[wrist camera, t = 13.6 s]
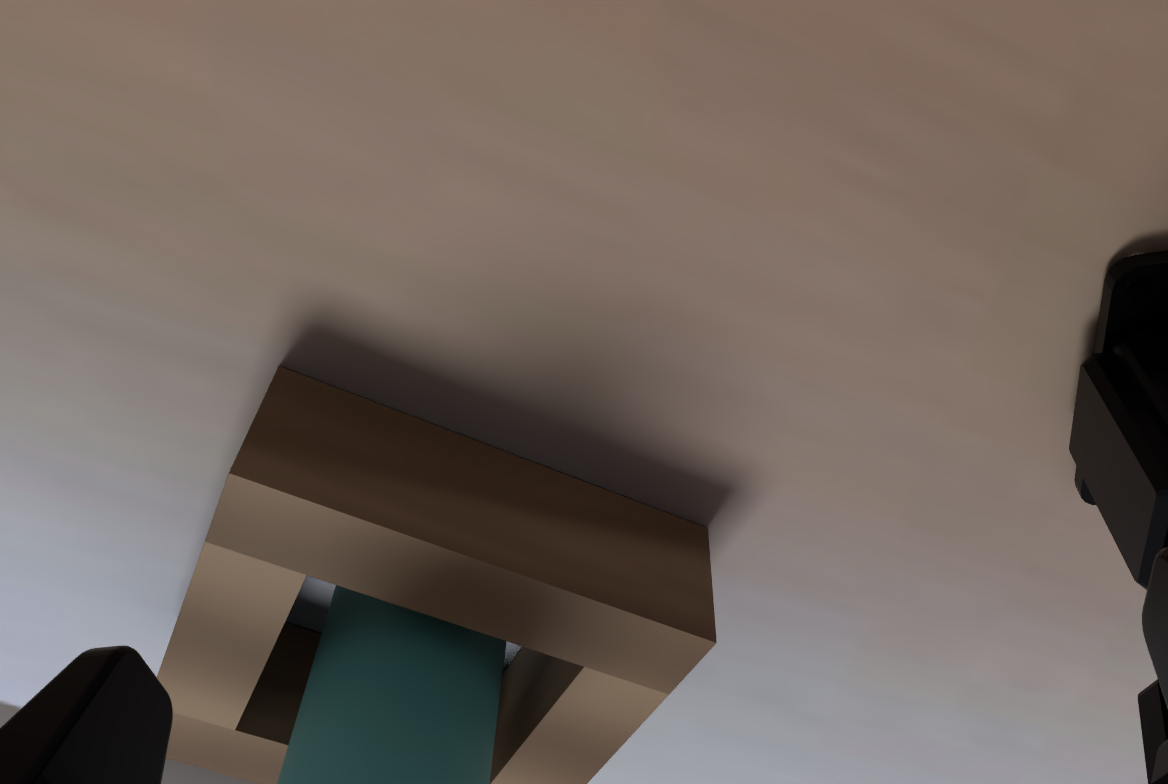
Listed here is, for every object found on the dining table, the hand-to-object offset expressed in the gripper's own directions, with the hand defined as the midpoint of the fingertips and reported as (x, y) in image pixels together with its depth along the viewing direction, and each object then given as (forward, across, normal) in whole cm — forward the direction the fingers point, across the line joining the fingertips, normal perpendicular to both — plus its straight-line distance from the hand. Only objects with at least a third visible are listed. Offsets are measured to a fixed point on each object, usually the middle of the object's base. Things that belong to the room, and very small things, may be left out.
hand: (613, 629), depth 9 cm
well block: (+12, +8, +12) cm, 19 cm away
